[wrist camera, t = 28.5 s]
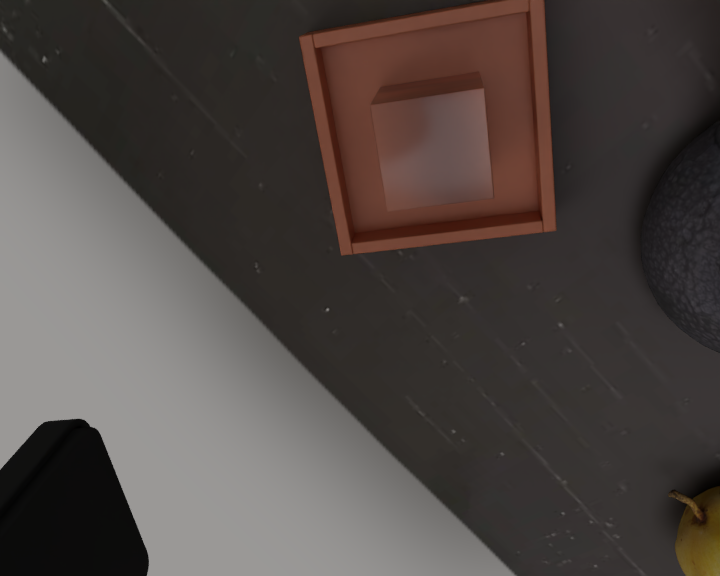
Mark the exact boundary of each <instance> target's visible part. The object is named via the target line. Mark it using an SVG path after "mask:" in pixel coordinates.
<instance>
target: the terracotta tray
mask: <svg viewBox="0 0 720 576" xmlns="http://www.w3.org/2000/svg"><path fill="white" fill-rule="evenodd" d="M299 40H300V46H301V51H302V56H303V61H304V66H305V71H306V76H307V81H308V87H309V92H310V97H311V102H312V107H313V112H314V117H315V123H316V128H317V133H318V138H319V143H320V148H321V153H322V158H323V164H324V169H325V174H326V179H327V184H328V189H329V194H330V200H331V205H332V210H333V215H334V220H335V225H336V230H337V235H338V241H339V246H340V251H341V255H351V254H353V253H354V254H360V253H368V252H377V251H385V250H394V249H403V248H411V247H420V246H429V245H437V244H446V243H455V242H463V241H472V240H481V239H489V238H498V237H507V236H515V235H524V234H533V233H541V232H550V231H556V230H557V228H556V210H555V191H554V172H553V153H552V134H551V116H550V97H549V78H548V59H547V40H546V22H545V3H544V0H487V1H482V2H476V3H470V4H465V5H459V6H453V7H448V8H442V9H436V10H431V11H425V12H419V13H414V14H408V15H402V16H397V17H391V18H385V19H380V20H374V21H368V22H363V23H357V24H351V25H346V26H340V27H334V28H329V29H323V30H317V31H312V32H307V33H306V34H303V35H301V36H299ZM472 72H479V73H480V76H481V79H482V82H483V85H484V88H485V98H486V109H487V120H488V131H489V142H490V153H491V164H492V175H493V186H494V199H487V200H479V201H471V202H463V203H455V204H447V205H439V206H431V207H423V208H415V209H407V210H399V211H391V212H387V210H386V204H385V198H384V192H383V186H382V179H381V173H380V167H379V161H378V154H377V148H376V142H375V136H374V129H373V123H372V117H371V111H370V104H371V102H372V100H373V99H374V97H375V95H376V93H377V92H378V90H379V88H380V87H384V86H390V85H397V84H403V83H409V82H416V81H422V80H428V79H434V78H441V77H447V76H453V75H460V74H466V73H472Z"/></svg>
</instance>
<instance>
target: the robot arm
mask: <svg viewBox="0 0 720 576" xmlns="http://www.w3.org/2000/svg"><path fill="white" fill-rule="evenodd" d="M148 566H149V559H148V553H147V550H146V548H145V545H144V543H143V540H142V538H141V535H140V533H139V530H138V528H137V525H136V523H135V520H134V518H133V515H132V513H131V510H130V508H129V505H128V503H127V500H126V498H125V495H124V493H123V490H122V488H121V485H120V483H119V480H118V478H117V475H116V472H115V470H114V468H113V465H112V462H111V460H110V458H109V455H108V453H107V450H106V447H105V445H104V443H103V440H102V437H101V435H100V433H99V432H98V430H97V429H95V428H92V427H90V426H89V424H88V423H87V422H86V421H85V420H82V419H71V420H60V421H59V420H58V421H48V422H44V423H43V424H41V425H40V426H39V427H38V428H37V429H36V430H35V431H34V433H33V434H32V435H31V436H30V437H29V438H28V439H27V440H26V442H25V443H24V444H23V445H22V446H21V447H20V448H19V449H18V450H17V452H16V453H15V454H14V455H13V456H12V457H11V458H10V459H9V461H8V462H7V463H6V464H5V465H4V466H3V467H2V469H1V470H0V576H147V572H148Z"/></svg>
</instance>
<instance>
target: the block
mask: <svg viewBox="0 0 720 576" xmlns="http://www.w3.org/2000/svg"><path fill="white" fill-rule="evenodd" d="M370 111H371V117H372V123H373V129H374V136H375V142H376V148H377V154H378V161H379V167H380V173H381V179H382V186H383V192H384V198H385V204H386V210H387V212H391V211H399V210H407V209H415V208H423V207H431V206H439V205H447V204H455V203H463V202H471V201H479V200H487V199H494V186H493V175H492V164H491V153H490V142H489V131H488V120H487V109H486V98H485V88H484V85H483V82H482V79H481V76H480V73H479V72H472V73H466V74H460V75H453V76H447V77H441V78H434V79H428V80H422V81H416V82H409V83H403V84H397V85H390V86H384V87H380V88H379V90H378V92H377V93H376V95H375V97H374V99H373V100H372V102H371V104H370Z"/></svg>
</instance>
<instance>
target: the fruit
mask: <svg viewBox="0 0 720 576" xmlns="http://www.w3.org/2000/svg"><path fill="white" fill-rule="evenodd" d="M668 495H669V497H673V498H676V499H678V500H679V501H681V502H683V503H685V504H688V505H687V506H686V508H685V510H684V513H683V516H682V518H681V521H680V524H679V527H678V534H677V539H676V542H675V551H676V555H677V558H678V562H679V564H680V566H681V568H682V570H683V572H684V573H685V575H686V576H720V486H718V487H714V488H711V489H708V490H706V491H705V492H703V493H701V494H699V495H698V496H696V497H694V498H693V499H691V498H689V497H687V496H685V495H683V494H681V493H679V492H677V491H676V490H672V491H670V492H669V494H668Z"/></svg>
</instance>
